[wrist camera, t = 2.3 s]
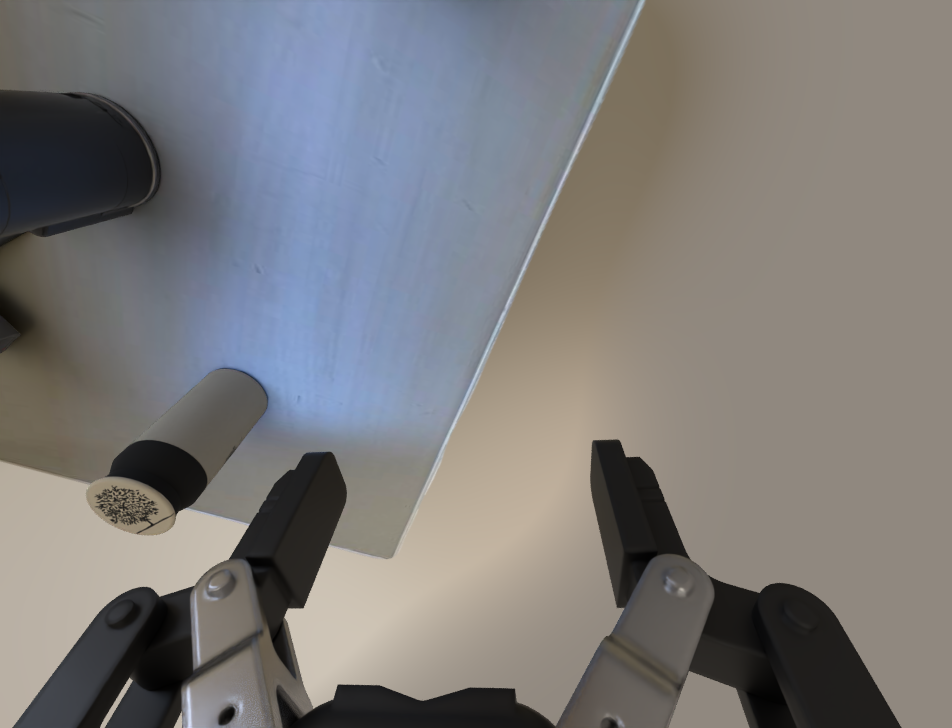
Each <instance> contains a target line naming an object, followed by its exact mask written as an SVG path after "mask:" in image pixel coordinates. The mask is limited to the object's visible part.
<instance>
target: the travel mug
mask: <svg viewBox="0 0 952 728" xmlns="http://www.w3.org/2000/svg"><path fill="white" fill-rule="evenodd" d="M266 409H267V397H266V394H265V392H264V390H263V389H262V387H261V386H260V385H259V384H258V383H257V382H256V381H255V380H254V379H253V378H251V377H250V376H248V375H246V374H244V373H242V372H239V371H236V370H232V369H218V370H215V371H212V372H211V373H209V374H208V375H207V376H206V377H205V378H204V379H202V380H201V381H200V382H199V383H198V384H197V385H196V386H195V387H194V388H192V389H191V390H190V391H189V392H188V393H187V394H186V395H185V396H184V397H182V398H181V399H180V400H179V401H178V402H177V403H176V404H175V405H174V406H172V407H171V408H170V409H169V410H168V411H167V412H166V413H165V414H164V415H162V416H161V417H160V418H159V419H158V420H157V421H156V422H155V423H154V424H153V425H151V426H150V427H149V428H148V429H147V430H146V431H145V432H144V433H143V434H141V435H140V436H139V437H138V438H137V439H136V440H135V441H134V442H133V443H131V444H130V445H129V446H128V447H127V448H126V449H125V450H124V451H123V452H121V453H120V454H119V455H118V456H117V457H116V458H115V459H114V461H113V463H112V466H111V470H110V473H109V475H107V476H106V477H104V478H101V479H98V480H96V481H94V482H93V483H91V485H90V486H89V487H88V489H87V492H86V498H87V501H88V504H89V505H90V507H91V509H92V510H93V511H94V512H95V513H96V514H97V515H98V516H99V517H100V518H101V519H103V520H104V521H106V522H107V523H109V524H111V525H112V526H114V527H117V528H118V529H121V530H123V531H126V532H130V533H134V534H139V535H157V534H161V533H164V532H166V531H168V530H169V529H170V528H171V527H172V526H173V525H174V523H175V519H176V515H177V513H178V512H179V511H181V510H183V509H185V508H187V507H189V506H191V505H192V504H193V503H194V502H195V501H196V500H197V499H198V497H199V496H200V495H201V493H202V492H203V491H204V490H205V488H206V487H207V486H208V484H209V483H210V482H211V481H212V479H213V478H214V477H215V475H216V474H217V473H218V472H219V470H220V469H221V468H222V466H223V465H224V464H225V463H226V461H227V460H228V459H229V457H230V456H231V455H232V454H233V452H234V451H235V450H236V448H237V447H238V446H239V445H240V443H241V442H242V441H243V439H244V438H245V437H246V436H247V434H248V433H249V432H250V430H251V429H252V428H253V427H254V425H255V424H256V423H257V421H258V420H259V419H260V418H261V416H262V415H263V414H264V412H265V411H266Z"/></svg>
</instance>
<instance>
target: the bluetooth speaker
mask: <svg viewBox="0 0 952 728" xmlns="http://www.w3.org/2000/svg"><path fill="white" fill-rule="evenodd" d="M20 335H21V334H20V333H19V332H18V331H17V330H16V329H15V328H14V327H13V326H11V325H10V324H9V323H8V322H7V321H6V320H5V319H4V318H3V317H2V316H1V315H0V353H2V352H3V351H5V350H6V349H7V348H8V347H9V346H10V345H11V343H12V342H13V341H14V340H15V339H16V338H17V337H19V336H20Z"/></svg>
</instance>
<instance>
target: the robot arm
mask: <svg viewBox="0 0 952 728" xmlns="http://www.w3.org/2000/svg"><path fill="white" fill-rule="evenodd" d="M42 91H44V90H42ZM57 92H59V91H57ZM159 180H160V169H159V162H158V158H157V155H156V152H155V150H154V147H153V145H152V143H151V141H150V140H149V138H148V136H147V135H146V133H145V132H144V130H143V129H142V128H141V126H140V125H139V124H138V123H137V122H136V121H135V119H134V118H133V117H132V116H131V115H129V114H128V113H127V112H126V111H125V110H124V109H122V108H121V107H120V106H118V105H117V104H115V103H113V102H112V101H110V100H108V99H106V98H104V97H101V96H98V95H95V94H90V93H81V92H70V93H52V92H37V91H18V90H0V246H1V245H3V244H4V243H6V242H8V241H9V240H11V239H13V238H15V237H17V236H19V235H21V234H23V233H25V232H27V231H29V232H31V233H33V234H35V235H37V236H40V237H48V236H52V235H55V234H59V233H63V232H66V231H70V230H74V229H77V228H81V227H85V226H88V225H92V224H96V223H99V222H103V221H107V220H111V219H114V218H118V217H122V216H125V215H129V214H132V211H133V208H134V206H138V205H141V204H144V203H145V202H147V201H148V200H150V199H151V198H152V197H153V195H154V194H155V192H156V190H157V188H158V185H159ZM590 481H591V492H592V498H593V503H594V507H595V511H596V516H597V521H598V525H599V530H600V534H601V538H602V543H603V547H604V552H605V556H606V560H607V565H608V569H609V574H610V579H611V583H612V587H613V592H614V596H615V601H616V605H617V608H625V609H624V611H623V612H622V615H621V616H620V618H619V620H618V622H617V624H616V626H615V628H614V630H613V631H612V633H611V634H610V635H609V636H606V637H605V638H604V639H603V640H602V642H601V643H600V645H599V647H598V648H597V650H596V652H595V654H594V656H593V658H592V660H591V661H590V663H589V665H588V667H587V669H586V671H585V673H584V675H583V676H582V678H581V680H580V682H579V684H578V686H577V688H576V689H575V692H574V693H573V695H572V697H571V699H570V701H569V703H568V704H567V706H566V708H565V710H564V712H563V714H562V716H561V718H560V720H559V721H558V723H557V725H556V726H554V725H553V724H552V723H551V722H550V721H549V720H548V719H547V718H545V717H544V716H543V715H541V714H540V713H538V712H537V711H535V710H533V709H531V708H530V707H528V706H526V705H523V704H520V703H517V701H516V694H515V689H508V688H507V689H506V688H467V689H464V690H460V691H457V692H453V693H450V694H446V695H443V696H440V697H437V698H433V699H429V700H425V701H420V700H416V699H414V698H411V697H409V696H406V695H403V694H401V693H398V692H396V691H393V690H390V689H387V688H385V687H382V686H380V685H338V686H337V689H336V693H335V696H334V699H333V700H331V701H328V702H326V703H324V704H322V705H320V706H318V707H316V708H314V709H313V706H312V704H311V702H310V699H309V697H308V695H307V693H306V691H305V688H304V685H303V682H302V678H301V674H300V670H299V666H298V662H297V658H296V655H295V650H294V647H293V643H292V639H291V635H290V631H289V627H288V623H287V621H286V619H285V618H284V616H285V614H286V611H287V609H288V608H304V606H305V603H306V601H307V598H308V596H309V593H310V591H311V588H312V586H313V583H314V581H315V578H316V575H317V573H318V571H319V568H320V566H321V563H322V561H323V558H324V556H325V553H326V551H327V548H328V546H329V543H330V541H331V538H332V536H333V533H334V531H335V528H336V526H337V523H338V521H339V518H340V516H341V513H342V511H343V508H344V506H345V503H346V497H347V490H346V485H345V482H344V479H343V477H342V474H341V472H340V469H339V467H338V464H337V461H336V459H335V456H334V455H333V453H332V452H312V453H306V454H304V455H303V457H302V458H301V460H300V462H299V464H298V465H297V467H296V469H295V470H289V471H288V472H287V473H286V474H285V475H284V476H282V477H281V478H280V479H279V480H278V481H277V482H276V483H275V484H274V486H273V488H272V489H271V491H270V493H269V494H268V496H267V499H266V501H264V502H263V504H262V506H261V507H260V509H259V513H257V514H256V516H255V517H254V519H253V521H252V522H251V524H250V525H249V527H248V529H247V530H246V532H245V534H244V535H243V537H242V539H241V540H240V542H239V544H238V545H237V547H236V548H235V550H234V552H233V553H232V555H231V557H230V558H229V560H226V561H224V562H221V563H219V564H217V565H215V566H214V567H212V568H211V569H210V570H208V571H207V572H206V573H205V574H204V575H203V576H202V577H201V578H200V579H199V580H198V582H197V583H196V585H195V586H193V587H189V588H186V589H183V590H180V591H177V592H174V593H170V594H167V595H164V596H161V597H159V596H158V595H157V593H156V592H155V591H154V590H153V589H151V588H149V587H139V588H135V589H132V590H129V591H127V592H125V593H123V594H121V595H120V596H118V597H116V598H115V599H114V600H112V601H111V602H110V603H109V604H107V605H106V606H105V607H104V608H103V609H102V610H101V611H100V612H99V614H98V615H97V616H96V617H95V618H94V620H93V621H92V622H91V624H90V625H89V627H88V628H87V629H86V630H85V632H84V633H83V634H82V636H81V637H80V638H79V640H78V641H77V643H76V644H75V645H74V647H73V648H72V649H71V650H70V652H69V653H68V654H67V656H66V657H65V659H64V660H63V661H62V662H61V664H60V665H59V666H58V668H57V669H56V670H55V672H54V673H53V674H52V676H51V677H50V678H49V680H48V681H47V683H46V684H45V685H44V687H43V688H42V689H41V690H40V692H39V693H38V695H37V696H36V697H35V698H34V700H33V701H32V702H31V704H30V705H29V707H28V708H27V709H26V710H25V712H24V713H23V714H22V716H21V717H20V718H19V720H18V721H17V722H16V724H15V725H14V727H13V728H100V726H101V724H102V722H103V720H104V718H105V716H106V715H107V713H108V712H109V710H110V708H111V707H112V705H113V703H114V702H115V700H116V698H117V697H118V695H119V693H120V692H121V690H122V689H123V687H124V685H125V684H126V682H127V680H128V679H129V677H130V678H131V679H132V680H133V682H132V683H131V685H130V687H129V688H128V690H127V692H126V694H125V695H124V697H123V698H122V700H121V702H120V703H119V705H118V707H117V708H116V710H115V712H114V713H113V715H112V717H111V719H110V720H109V722H108V723H107V725H106V727H105V728H174V726H175V724H176V722H177V720H178V717H179V715H180V713H181V711H182V728H668V727H669V724H670V721H671V718H672V716H673V713H674V710H675V707H676V705H677V702H678V699H679V697H680V694H681V691H682V688H683V686H684V683H685V680H686V677H687V675H688V672H689V671H691V672H694V673H696V674H699V675H702V676H704V677H707V678H710V679H713V680H715V681H718V682H720V683H723V684H726V685H729V686H731V687H734V688H736V689H737V692H738V695H739V698H740V701H741V704H742V707H743V710H744V713H745V715H746V718H747V721H748V724H749V727H750V728H901V726H900V725H899V723H898V721H897V719H896V718H895V716H894V714H893V712H892V711H891V709H890V707H889V706H888V704H887V702H886V701H885V699H884V697H883V695H882V694H881V692H880V691H879V689H878V687H877V685H876V684H875V682H874V680H873V679H872V677H871V675H870V673H869V672H868V670H867V668H866V666H865V665H864V663H863V662H862V660H861V658H860V656H859V655H858V653H857V651H856V649H855V648H854V646H853V644H852V643H851V641H850V640H849V637H848V636H847V634H846V632H845V631H844V629H843V627H842V626H841V624H840V622H839V620H838V619H837V617H836V616H835V614H834V613H833V612H832V611H831V609H830V608H829V607H828V606H827V605H826V604H825V603H824V602H823V601H821V600H820V599H819V598H818V597H816V596H815V595H813V594H812V593H810V592H808V591H806V590H804V589H802V588H800V587H797V586H794V585H790V584H785V583H775V584H770V585H768V586H766V587H765V588H764V589H763V590H762V591H761V592H760V593H757V592H754V591H750V590H747V589H743V588H740V587H736V586H733V585H729V584H726V583H723V582H720V581H718V580H716V579H714V578H712V577H710V576H709V575H707V574H706V572H705V571H704V570H703V569H702V568H701V567H700V566H699V565H697V564H696V563H694V562H693V561H692V560H691V559H690V558H689V556H688V554H687V553H686V550H685V548H684V546H683V543H682V541H681V538H680V536H679V533H678V531H677V528H676V526H675V524H674V521H673V519H672V516H671V514H670V511H669V509H668V506H667V504H666V502H665V501H664V497H663V494H662V492H661V489H659V484H658V482H657V479H656V477H655V474H654V472H653V470H652V469H651V468H650V467H649V466H648V465H647V464H646V463H645V462H644V461H643V460H642V459H641V458H640V457H626V456H625V454H624V451H623V448H622V445H621V442H620V441H619V440H594V441H593V442H592V456H591V474H590Z"/></svg>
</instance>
